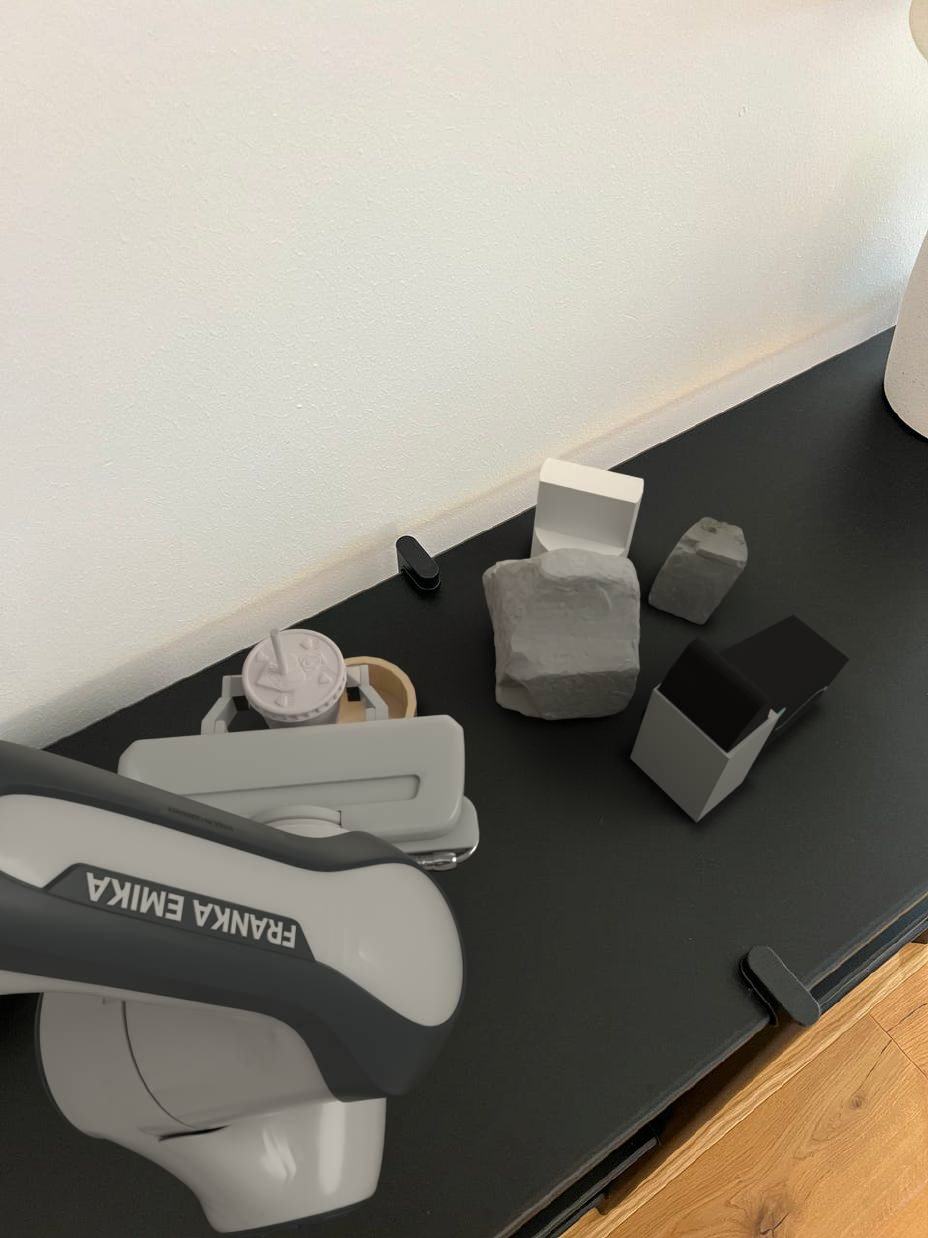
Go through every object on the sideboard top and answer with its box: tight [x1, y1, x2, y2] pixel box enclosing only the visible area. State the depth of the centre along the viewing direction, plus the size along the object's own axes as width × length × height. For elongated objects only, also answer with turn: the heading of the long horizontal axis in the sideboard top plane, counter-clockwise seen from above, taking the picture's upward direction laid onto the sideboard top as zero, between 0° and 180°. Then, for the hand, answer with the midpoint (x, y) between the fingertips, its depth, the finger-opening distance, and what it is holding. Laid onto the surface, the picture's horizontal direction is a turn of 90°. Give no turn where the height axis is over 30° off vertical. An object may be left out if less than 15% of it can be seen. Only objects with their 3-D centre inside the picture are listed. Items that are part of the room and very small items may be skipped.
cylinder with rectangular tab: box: [529, 457, 645, 559], centre depth 87 cm, size 9×9×12 cm
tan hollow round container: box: [339, 655, 418, 723], centre depth 79 cm, size 9×9×4 cm
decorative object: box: [629, 614, 850, 823], centre depth 76 cm, size 8×18×15 cm, turn 130°
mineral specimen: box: [648, 516, 749, 625], centre depth 87 cm, size 7×9×8 cm
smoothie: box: [241, 627, 347, 729], centre depth 60 cm, size 6×6×14 cm
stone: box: [481, 548, 641, 721], centre depth 79 cm, size 12×12×15 cm
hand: (296, 674), depth 60 cm, fingers closed on smoothie, 6 cm apart
